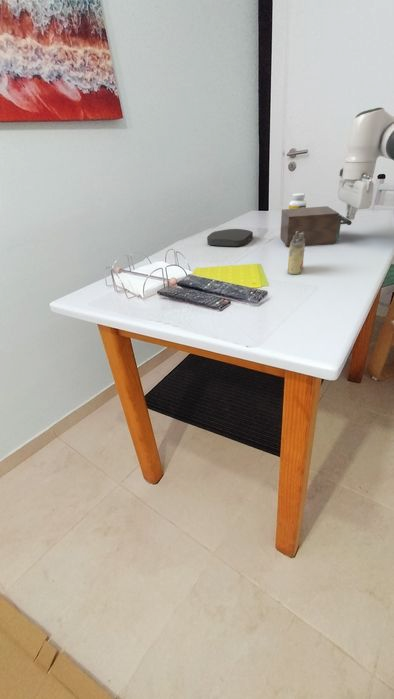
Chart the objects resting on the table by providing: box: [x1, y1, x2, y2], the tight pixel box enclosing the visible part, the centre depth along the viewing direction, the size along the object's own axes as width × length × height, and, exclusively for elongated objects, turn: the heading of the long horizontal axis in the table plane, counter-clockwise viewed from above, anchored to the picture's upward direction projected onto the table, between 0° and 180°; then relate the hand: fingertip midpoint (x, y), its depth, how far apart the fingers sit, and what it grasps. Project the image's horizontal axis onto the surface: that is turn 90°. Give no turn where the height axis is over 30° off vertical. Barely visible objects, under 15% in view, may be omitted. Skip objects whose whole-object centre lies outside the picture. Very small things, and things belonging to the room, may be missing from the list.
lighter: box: [286, 231, 306, 275], centre depth 90 cm, size 7×4×10 cm, turn 157°
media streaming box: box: [206, 228, 254, 247], centre depth 122 cm, size 15×15×3 cm
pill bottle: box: [288, 192, 307, 209], centre depth 133 cm, size 6×6×12 cm
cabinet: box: [279, 205, 340, 248], centre depth 114 cm, size 16×13×10 cm
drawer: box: [335, 213, 353, 242], centre depth 114 cm, size 19×11×8 cm, turn 88°
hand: (349, 218), depth 112 cm, fingers closed, pressing on drawer
